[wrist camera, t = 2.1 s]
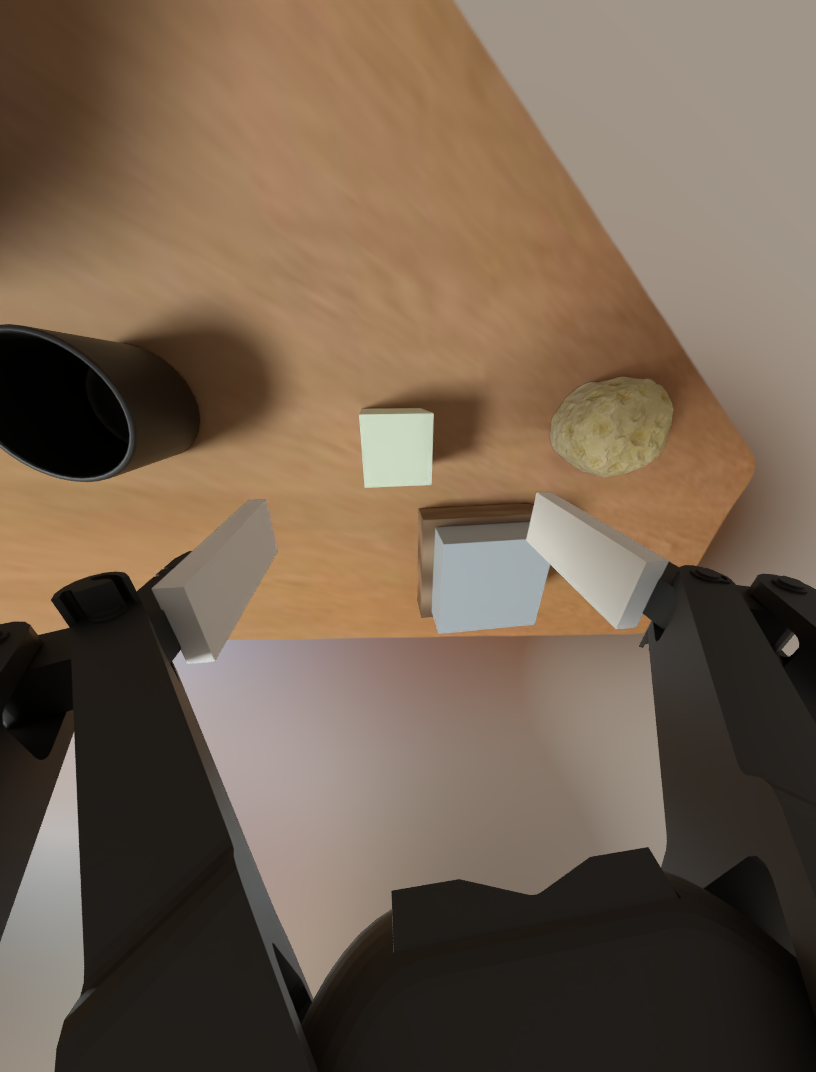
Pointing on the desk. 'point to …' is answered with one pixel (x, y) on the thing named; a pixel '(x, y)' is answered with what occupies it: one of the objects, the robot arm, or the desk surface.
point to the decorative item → (612, 425)
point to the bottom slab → (455, 517)
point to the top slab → (486, 577)
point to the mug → (89, 405)
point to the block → (396, 446)
